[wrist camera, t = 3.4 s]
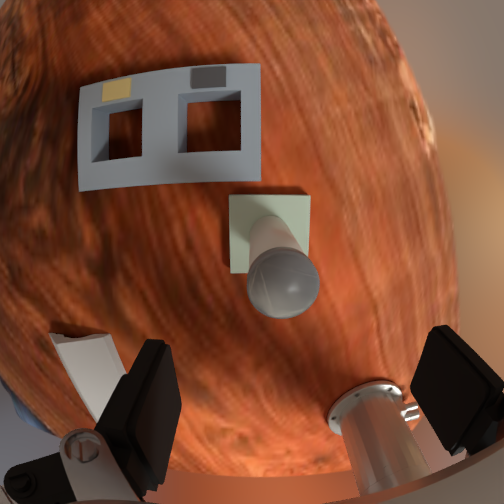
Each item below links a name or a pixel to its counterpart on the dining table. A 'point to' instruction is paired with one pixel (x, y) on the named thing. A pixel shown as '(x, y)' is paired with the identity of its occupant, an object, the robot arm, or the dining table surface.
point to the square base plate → (259, 205)
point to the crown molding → (91, 367)
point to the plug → (279, 271)
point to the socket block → (168, 127)
